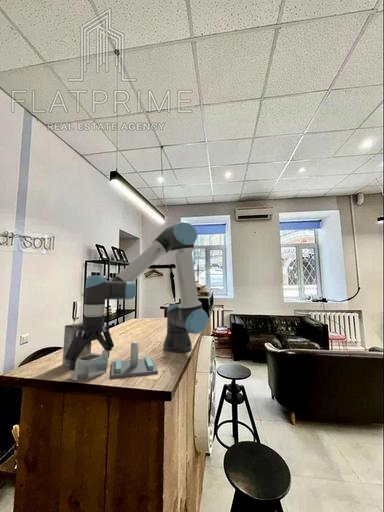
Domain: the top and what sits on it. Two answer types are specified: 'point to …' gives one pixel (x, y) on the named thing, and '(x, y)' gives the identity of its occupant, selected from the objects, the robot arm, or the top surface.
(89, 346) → the coffee box
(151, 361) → the board
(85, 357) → the collar
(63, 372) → the top surface
